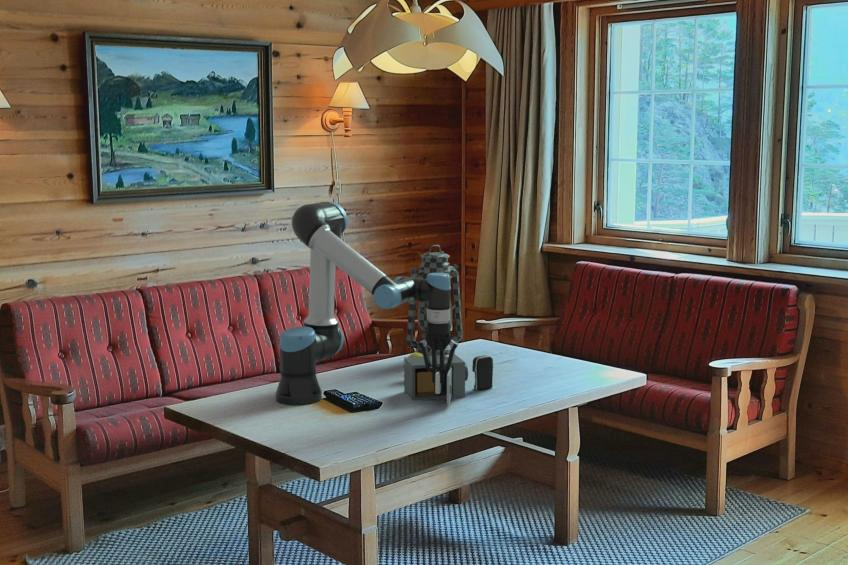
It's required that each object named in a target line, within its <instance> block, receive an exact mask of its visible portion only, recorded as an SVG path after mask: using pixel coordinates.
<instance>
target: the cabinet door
mask: <svg viewBox="0 0 848 565" xmlns="http://www.w3.org/2000/svg"><path fill="white" fill-rule="evenodd" d="M451 396H452V367H450V370H449V372H448V374H447V399H446V405H450V403H451V399H452V398H451Z"/></svg>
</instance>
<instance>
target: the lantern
mask: <svg viewBox="0 0 848 565" xmlns="http://www.w3.org/2000/svg"><path fill="white" fill-rule="evenodd" d="M435 247H437V248H438V250H439V252H438V251H436V252H434V251H433V252H431V250H432V248H435ZM441 247H442V246H440V244H433V245H430V246H429V250H428V251H427V252H424V253H423V254H420V256H419V257H420V258H421V260H422V261H421V262H420V265H419V266H420V267H418V268H415V267H412V268H410V269H409V270H410V274H411V275H410V277H411V278H422V279H427V275H428V274H430V273H446V274H448V275H449V276H450V279H451V280H452V290H453V291H452V292H453V305H452V302H451V300H450V320H449V322H450V329H451V328H452V325H453V310H454V322H455V334H456V336H453V337H451V338H452V341H454V342H455V343H458V344H459V342H460V341H461V339H462V338H463V337H464V336H463V335H464V334H463V333H464V331H463V323H462V322H463V319H462V305H461V304H462V303H461V290H460V289H461V288H460V275H459V274H460V273H459V270H460V266H458V264H456V263H454V264H453V265H450V264H451V263H450V262H448V261H449V258H450V255H449V254H448V253H445V252H444V251H443V250H442V249H441ZM416 304H417V301H411V302H408V312H407V313H408V317H407V330H406V331H407V333H406V344H407V345H408V346H409V347H410V348H411V349H415V353H421V354H422V355H423V353H422V349H421V348H420V346H419V343H420V341H419V340H418V341H417V340H414V337H415V336H414V335H415V322H416V321H415V320H416V312H417V323H418V328H419V329H420V330H421V331H422V332H423V333H422V334H421V337H422V338H424V339H425V337H426V335H427V322H428V320H427V302H420V301H418V306H417V305H416ZM426 347H427V350H428V354H429V356H432V349H431V347H430V346H429V345H428V343H427V346H426ZM450 350H451V348H450V343H449V345H448V346H447V347H446V349H445V355H449V353H450ZM454 354H455V355H456V351H455V352H454ZM437 355H440V353H439V350H437Z"/></svg>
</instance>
